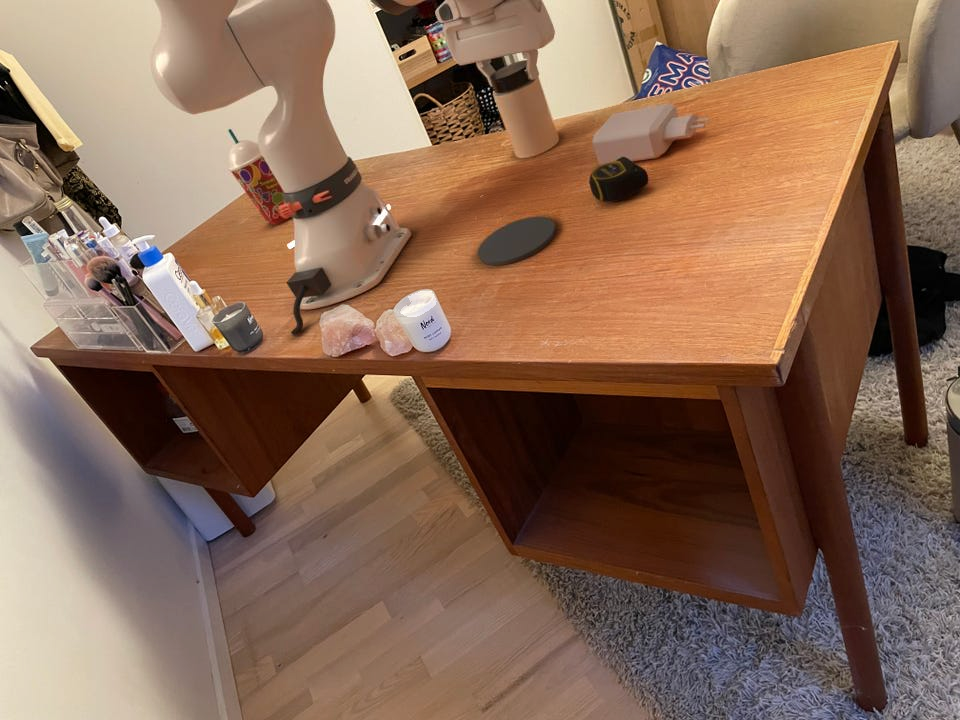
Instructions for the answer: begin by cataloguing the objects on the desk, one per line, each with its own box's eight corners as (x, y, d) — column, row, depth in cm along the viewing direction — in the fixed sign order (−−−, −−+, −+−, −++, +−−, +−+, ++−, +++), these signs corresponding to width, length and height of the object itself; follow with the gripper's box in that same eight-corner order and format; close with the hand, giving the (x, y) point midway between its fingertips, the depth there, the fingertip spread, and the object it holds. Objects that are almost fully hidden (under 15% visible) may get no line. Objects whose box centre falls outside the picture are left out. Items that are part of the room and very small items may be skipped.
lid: (521, 73, 116) (517, 59, 115) (542, 74, 110) (537, 60, 109) (488, 92, 115) (483, 78, 113) (507, 94, 109) (502, 80, 108)
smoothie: (291, 222, 140) (236, 130, 129) (259, 232, 143) (202, 144, 132) (306, 203, 146) (255, 115, 136) (275, 214, 149) (222, 128, 139)
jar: (559, 147, 114) (533, 70, 107) (514, 163, 116) (486, 89, 109) (559, 131, 120) (534, 57, 113) (516, 146, 123) (490, 75, 116)
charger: (699, 155, 91) (599, 169, 101) (720, 124, 97) (623, 139, 106) (692, 122, 89) (590, 139, 98) (713, 91, 94) (615, 110, 103)
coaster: (556, 249, 86) (554, 245, 86) (475, 274, 89) (474, 270, 89) (556, 211, 95) (554, 207, 95) (483, 235, 98) (481, 232, 98)
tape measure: (653, 191, 88) (646, 164, 86) (604, 213, 89) (596, 187, 87) (634, 176, 94) (627, 151, 92) (588, 196, 94) (580, 172, 92)
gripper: (545, -31, 99) (574, 64, 106) (453, -1, 113) (484, 80, 121) (519, -14, 96) (551, 82, 104) (428, 15, 111) (461, 97, 118)
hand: (514, 81), depth 112 cm, fingers closed on lid, 7 cm apart
